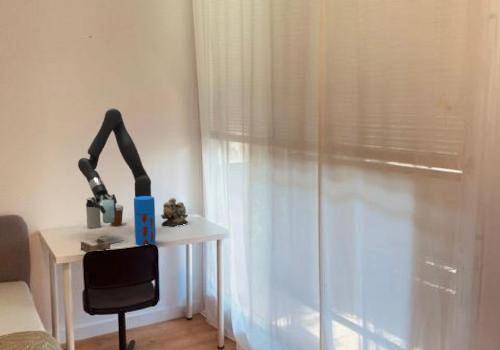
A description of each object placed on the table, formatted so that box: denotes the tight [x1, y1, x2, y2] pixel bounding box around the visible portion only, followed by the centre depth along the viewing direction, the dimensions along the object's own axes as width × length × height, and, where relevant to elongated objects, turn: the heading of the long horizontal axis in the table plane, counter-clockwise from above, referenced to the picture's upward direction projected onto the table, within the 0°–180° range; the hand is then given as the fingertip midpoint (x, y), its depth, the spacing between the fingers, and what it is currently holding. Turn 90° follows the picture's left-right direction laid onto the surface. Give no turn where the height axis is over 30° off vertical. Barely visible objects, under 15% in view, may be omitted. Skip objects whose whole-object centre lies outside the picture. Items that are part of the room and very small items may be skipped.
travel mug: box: [85, 196, 102, 229], centre depth 296 cm, size 8×8×18 cm
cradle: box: [80, 237, 111, 253], centre depth 250 cm, size 10×11×4 cm
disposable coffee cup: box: [110, 204, 124, 227], centre depth 301 cm, size 10×10×12 cm
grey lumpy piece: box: [160, 197, 189, 227], centre depth 302 cm, size 18×12×17 cm, turn 127°
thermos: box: [133, 195, 157, 246], centre depth 260 cm, size 11×11×25 cm
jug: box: [102, 198, 115, 224], centre depth 262 cm, size 6×8×12 cm
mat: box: [95, 236, 125, 245], centre depth 265 cm, size 11×11×1 cm
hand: (109, 211), depth 262 cm, fingers closed on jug, 6 cm apart
